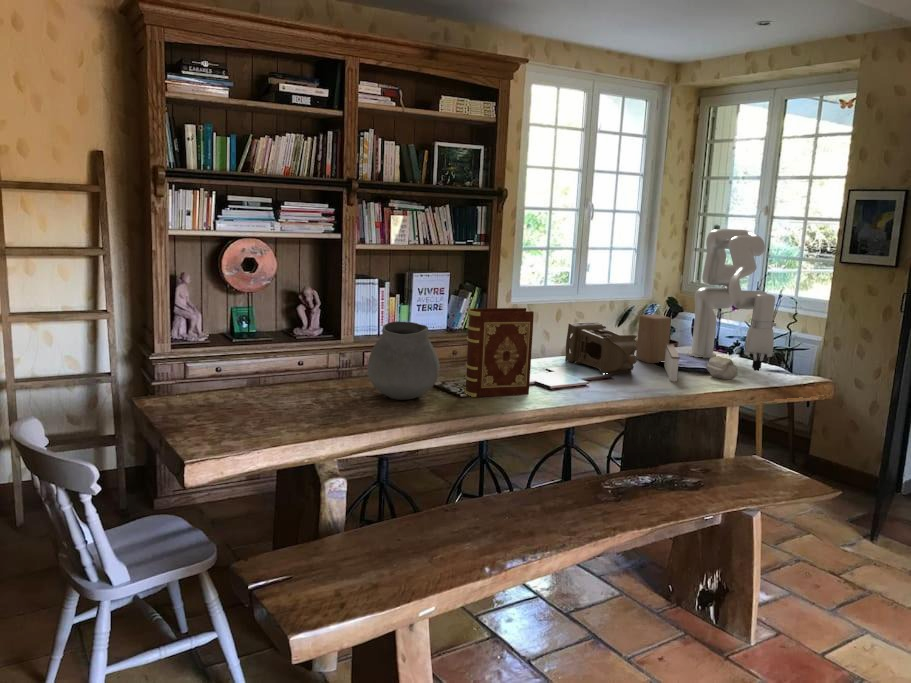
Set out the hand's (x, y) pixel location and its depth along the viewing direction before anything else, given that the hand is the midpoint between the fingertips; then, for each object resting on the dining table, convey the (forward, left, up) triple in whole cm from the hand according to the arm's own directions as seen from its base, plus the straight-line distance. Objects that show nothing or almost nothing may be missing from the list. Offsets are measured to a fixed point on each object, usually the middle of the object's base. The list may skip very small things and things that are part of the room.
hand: (756, 369), depth 296 cm
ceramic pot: (+69, -128, -5) cm, 145 cm away
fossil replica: (0, -13, -5) cm, 14 cm away
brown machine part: (+2, -59, -5) cm, 59 cm away
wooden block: (-22, -39, -5) cm, 45 cm away
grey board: (0, -33, -4) cm, 33 cm away
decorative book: (+54, -98, -5) cm, 112 cm away
